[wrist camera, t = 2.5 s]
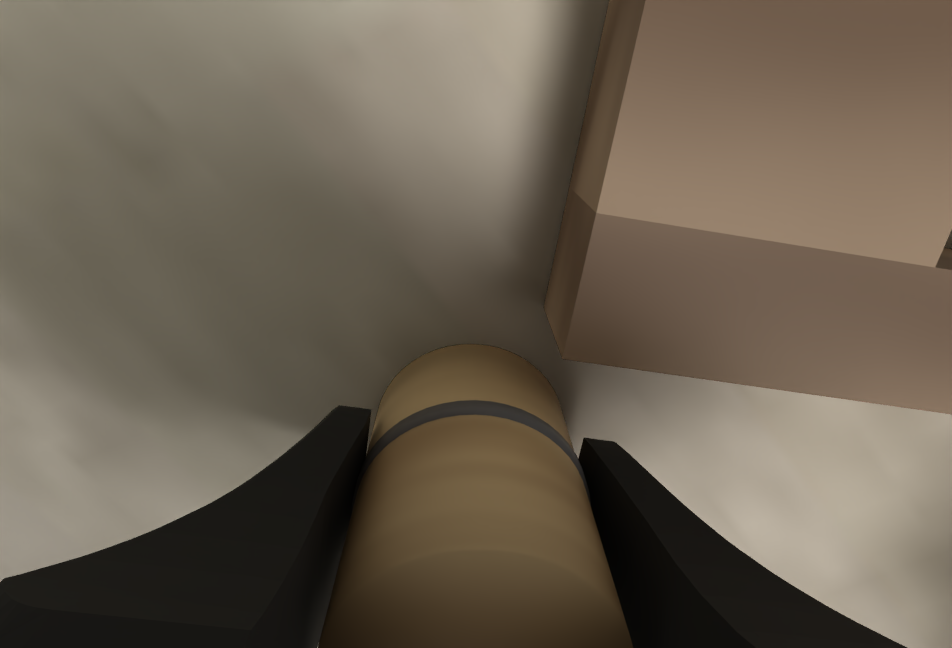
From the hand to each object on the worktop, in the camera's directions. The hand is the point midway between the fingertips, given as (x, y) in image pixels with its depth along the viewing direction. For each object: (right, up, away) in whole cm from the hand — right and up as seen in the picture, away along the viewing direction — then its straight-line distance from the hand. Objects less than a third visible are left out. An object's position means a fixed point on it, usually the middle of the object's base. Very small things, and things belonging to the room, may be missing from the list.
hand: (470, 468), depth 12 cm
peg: (0, +1, +1) cm, 1 cm away
